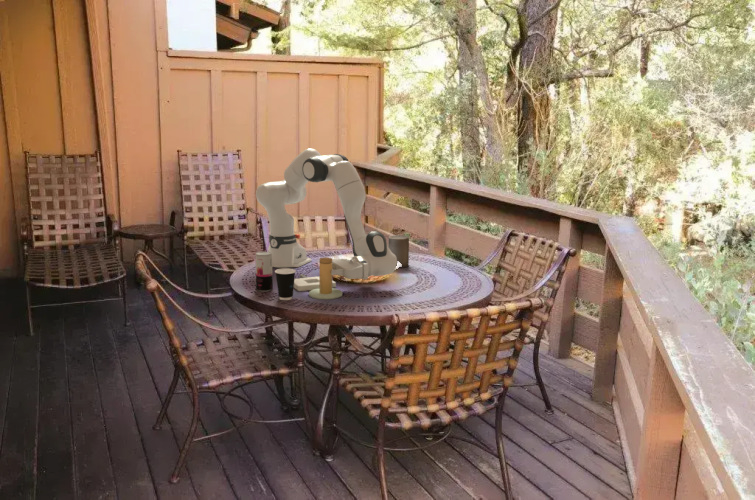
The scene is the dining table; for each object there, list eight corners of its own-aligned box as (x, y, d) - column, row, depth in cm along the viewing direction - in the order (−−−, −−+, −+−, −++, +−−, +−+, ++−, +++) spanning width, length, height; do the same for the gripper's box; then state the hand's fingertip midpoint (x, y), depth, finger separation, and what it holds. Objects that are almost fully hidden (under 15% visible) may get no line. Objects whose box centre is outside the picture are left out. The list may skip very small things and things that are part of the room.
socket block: (318, 276, 292) (318, 271, 292) (335, 287, 275) (335, 282, 274) (283, 279, 285) (283, 274, 285) (298, 291, 268) (298, 286, 267)
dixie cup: (297, 300, 255) (297, 272, 252) (276, 302, 253) (276, 273, 250) (294, 295, 262) (294, 267, 260) (274, 296, 260) (273, 268, 258)
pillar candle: (410, 264, 318) (411, 232, 315) (406, 268, 308) (406, 236, 305) (390, 262, 320) (391, 231, 317) (385, 267, 311) (385, 235, 308)
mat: (322, 288, 272) (322, 286, 272) (348, 293, 265) (348, 291, 265) (302, 295, 261) (302, 293, 261) (329, 301, 255) (329, 298, 254)
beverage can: (260, 292, 265) (259, 255, 262) (253, 289, 270) (252, 252, 267) (275, 290, 268) (275, 253, 265) (268, 286, 274) (267, 250, 271)
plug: (329, 290, 266) (329, 257, 263) (334, 293, 262) (334, 259, 259) (317, 291, 264) (317, 258, 261) (322, 294, 260) (322, 260, 257)
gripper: (348, 253, 276) (317, 256, 270) (369, 264, 257) (336, 267, 252) (348, 268, 277) (317, 271, 271) (369, 280, 259) (336, 283, 253)
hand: (326, 269), depth 261 cm, fingers open, 8 cm apart
